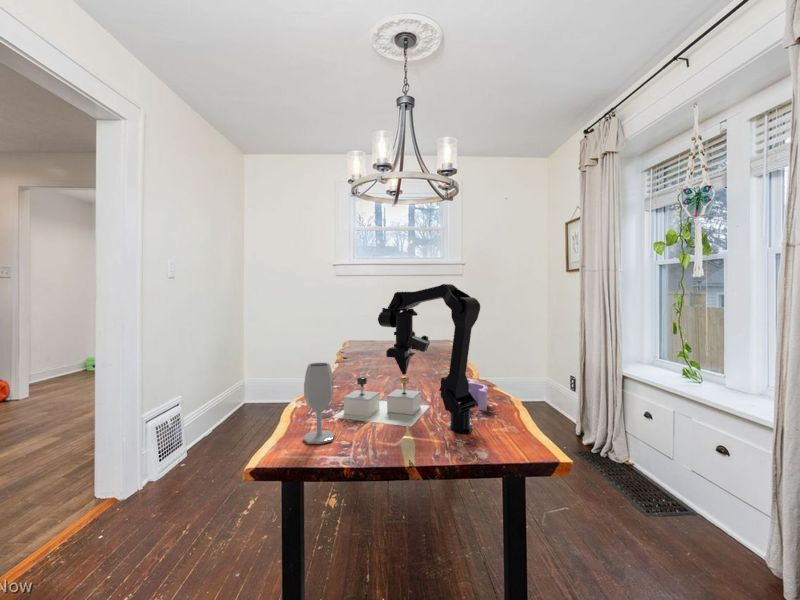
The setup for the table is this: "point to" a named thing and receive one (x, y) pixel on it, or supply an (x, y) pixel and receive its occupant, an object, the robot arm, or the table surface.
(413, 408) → the white square box
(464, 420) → the robot arm
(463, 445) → the table surface
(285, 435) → the table surface
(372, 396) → the white square block
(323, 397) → the wineglass
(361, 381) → the plunger
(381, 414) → the board
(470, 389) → the clip
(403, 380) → the plunger
